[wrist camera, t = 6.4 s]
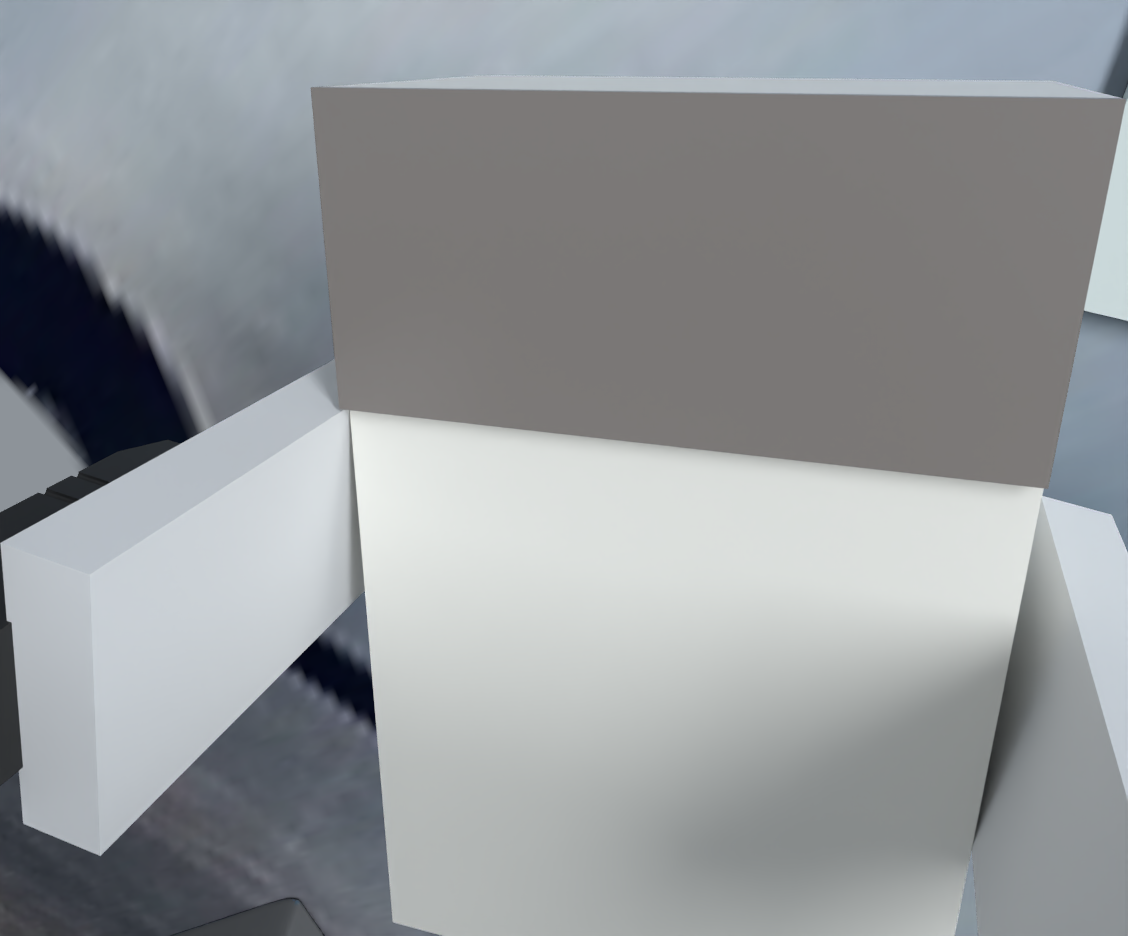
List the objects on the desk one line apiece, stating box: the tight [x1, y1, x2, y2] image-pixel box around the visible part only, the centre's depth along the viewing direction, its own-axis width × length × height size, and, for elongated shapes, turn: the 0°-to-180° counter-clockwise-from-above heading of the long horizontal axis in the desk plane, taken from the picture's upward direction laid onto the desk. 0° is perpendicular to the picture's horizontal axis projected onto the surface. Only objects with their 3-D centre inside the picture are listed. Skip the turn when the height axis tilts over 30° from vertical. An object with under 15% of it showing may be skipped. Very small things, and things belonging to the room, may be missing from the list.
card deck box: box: [311, 75, 1126, 936], centre depth 12 cm, size 10×6×4 cm, turn 0°
